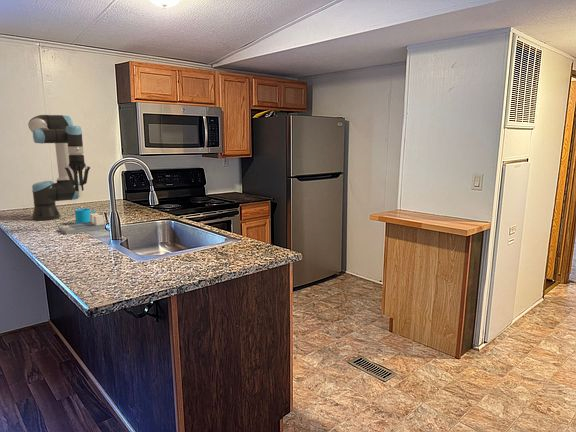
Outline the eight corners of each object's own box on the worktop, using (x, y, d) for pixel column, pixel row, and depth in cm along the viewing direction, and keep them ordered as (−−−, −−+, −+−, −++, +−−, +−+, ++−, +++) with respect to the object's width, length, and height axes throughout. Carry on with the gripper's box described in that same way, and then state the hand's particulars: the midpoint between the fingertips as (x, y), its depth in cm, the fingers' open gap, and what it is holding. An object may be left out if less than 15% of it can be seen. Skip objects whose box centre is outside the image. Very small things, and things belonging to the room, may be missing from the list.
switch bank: (58, 230, 225) (57, 226, 225) (106, 223, 243) (105, 219, 242) (66, 234, 215) (65, 230, 215) (115, 227, 233) (115, 223, 233)
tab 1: (90, 222, 235) (89, 213, 234) (97, 221, 238) (96, 213, 237) (92, 223, 233) (91, 214, 232) (99, 222, 235) (99, 213, 234)
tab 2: (94, 224, 229) (93, 215, 228) (101, 223, 232) (100, 215, 231) (96, 225, 226) (95, 216, 226) (103, 224, 229) (103, 216, 228)
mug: (78, 225, 239) (77, 211, 238) (74, 223, 245) (73, 209, 244) (99, 222, 247) (98, 209, 246) (95, 220, 253) (94, 207, 252)
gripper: (65, 155, 216) (69, 198, 221) (91, 154, 225) (94, 196, 230) (61, 154, 221) (65, 197, 226) (86, 153, 230) (90, 195, 235)
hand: (80, 196), depth 228 cm, fingers closed
